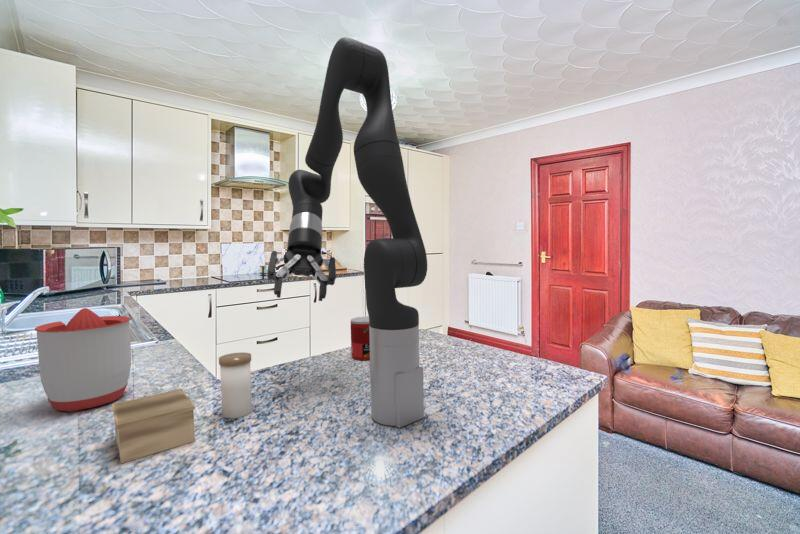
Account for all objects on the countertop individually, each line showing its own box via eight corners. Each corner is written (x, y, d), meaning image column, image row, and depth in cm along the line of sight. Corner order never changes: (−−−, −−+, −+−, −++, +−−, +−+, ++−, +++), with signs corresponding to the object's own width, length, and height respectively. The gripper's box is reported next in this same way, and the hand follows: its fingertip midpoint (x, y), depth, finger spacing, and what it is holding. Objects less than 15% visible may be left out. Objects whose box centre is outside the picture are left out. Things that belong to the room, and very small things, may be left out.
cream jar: (257, 412, 75) (255, 356, 74) (226, 421, 71) (223, 363, 70) (247, 403, 79) (245, 350, 79) (217, 411, 75) (215, 356, 75)
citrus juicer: (120, 381, 94) (115, 300, 93) (145, 398, 83) (140, 306, 82) (32, 402, 82) (25, 309, 81) (48, 425, 71) (40, 317, 70)
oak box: (196, 441, 64) (194, 405, 64) (119, 464, 57) (117, 425, 57) (183, 420, 72) (181, 388, 72) (114, 438, 65) (112, 404, 65)
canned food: (366, 362, 106) (365, 322, 105) (345, 357, 111) (344, 319, 110) (383, 355, 112) (383, 318, 112) (363, 351, 117) (362, 315, 116)
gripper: (273, 222, 84) (264, 285, 75) (338, 230, 88) (337, 291, 79) (273, 243, 90) (264, 303, 81) (334, 249, 94) (332, 308, 85)
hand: (300, 297), depth 80 cm, fingers open, 8 cm apart
